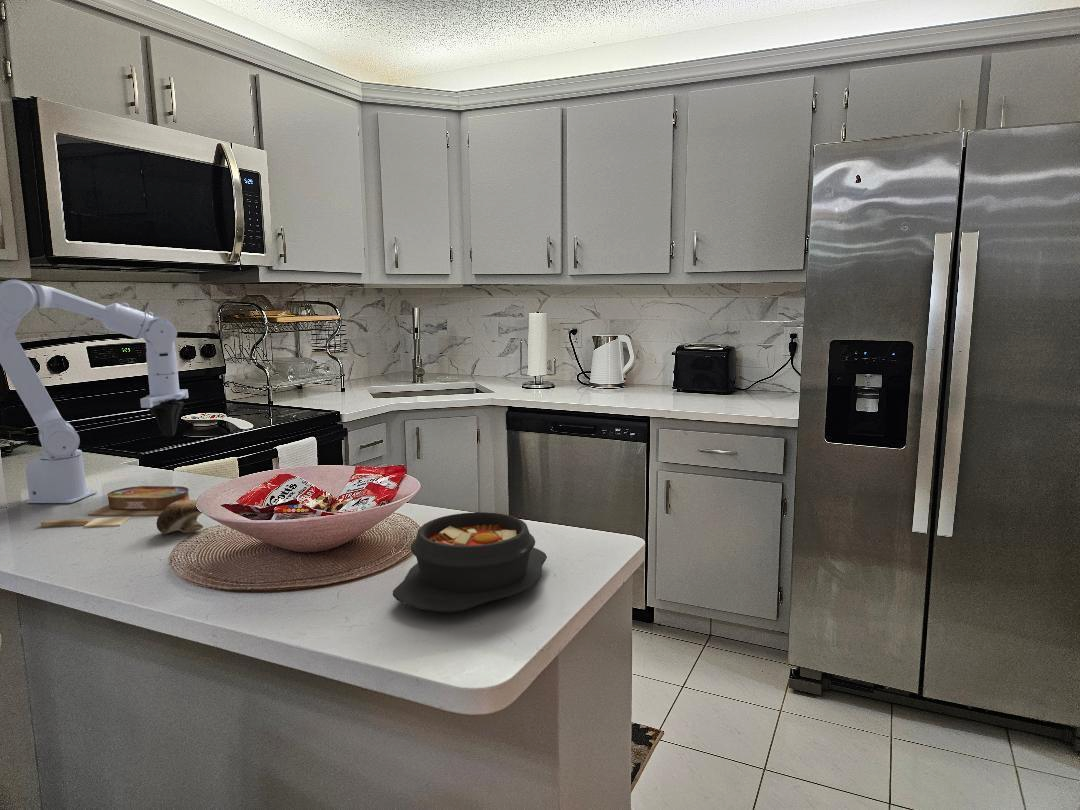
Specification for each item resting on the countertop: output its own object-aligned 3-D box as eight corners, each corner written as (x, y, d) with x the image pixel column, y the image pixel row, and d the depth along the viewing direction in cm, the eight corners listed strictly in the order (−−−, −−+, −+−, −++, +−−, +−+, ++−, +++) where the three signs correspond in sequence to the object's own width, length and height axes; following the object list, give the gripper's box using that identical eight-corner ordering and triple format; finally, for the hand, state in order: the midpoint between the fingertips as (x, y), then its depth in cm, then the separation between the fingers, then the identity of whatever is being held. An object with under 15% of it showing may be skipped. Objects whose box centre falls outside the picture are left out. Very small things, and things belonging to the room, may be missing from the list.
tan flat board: (87, 515, 133) (87, 513, 133) (117, 502, 141) (117, 500, 141) (175, 515, 132) (175, 514, 132) (199, 502, 140) (199, 500, 140)
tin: (197, 486, 141) (171, 495, 133) (198, 502, 141) (172, 511, 133) (126, 485, 143) (96, 493, 134) (127, 500, 143) (97, 510, 135)
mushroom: (217, 514, 121) (195, 485, 121) (174, 542, 117) (150, 512, 116) (212, 525, 128) (190, 497, 128) (170, 552, 123) (148, 523, 123)
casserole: (476, 640, 83) (473, 571, 81) (359, 606, 92) (356, 544, 91) (576, 568, 104) (576, 513, 103) (473, 546, 113) (472, 496, 112)
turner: (35, 529, 125) (35, 525, 125) (49, 521, 129) (49, 517, 129) (120, 526, 126) (119, 522, 126) (131, 518, 131) (130, 514, 131)
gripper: (161, 377, 145) (167, 442, 147) (199, 369, 160) (204, 429, 162) (128, 377, 146) (135, 442, 148) (168, 370, 160) (174, 429, 162)
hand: (169, 435), depth 155 cm, fingers closed
